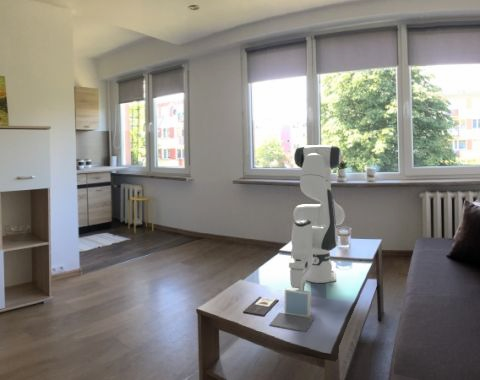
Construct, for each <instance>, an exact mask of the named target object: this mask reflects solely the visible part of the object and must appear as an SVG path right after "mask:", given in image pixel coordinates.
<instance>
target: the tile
mask: <svg viewBox="0 0 480 380" xmlns="http://www.w3.org/2000/svg"><path fill="white" fill-rule="evenodd" d="M311 292H312V291H309V290H305V289H304V290H298V288H290V287H289V288H288V287H286V288H285V289H284V313H285V314H291V315H297V316H303V317H309V318H311V317H310V316H311V296H312V295H311Z"/></svg>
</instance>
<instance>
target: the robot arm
mask: <svg viewBox="0 0 480 380" xmlns="http://www.w3.org/2000/svg"><path fill="white" fill-rule="evenodd" d="M293 155H294V156H293V159H294V163H295V165H296V166H297V168H298V167H299V168H301V171H300V177H299V178H300V179H299V187H300V191H301V192H302V194H303V195H305V196H306V197H308V198H309V199H312V200H314V201H317V202H319V203H317V204H316V203H315V204H314V203H310V204H308V203H305V204H299V205H296V206H295V208H294V210H293V214H292V215H293V219H294V221H293V223H292V227H291V229H292V230H291V245H292V246H291V253H290V255H291V257H290V260H289V263H288V268H289V269H290V270H289V275H290V278H289V279H290V285H291V286H290V287H292V288H291V289H297V290H304V291H305V287H306V282H311V283H316V284H319V283H320V284H321V283H322V284H323V283H329V282H337V278H336V277H337V276H336V271H335V270H333V264H332V261H331V254H330V252H331V251H332V250H334V249H335V248H337V246H338V244H339V233H338V229H337V226H340V225H342V224H343V222H344V221H345V217H346V212H345V211H344V209H343V207H342V206H341V205H339V204H338V203H337V202H336V201H335V199H334V196H333V192H332V187H331V186H332V184H331V183H332V181H331V180H332V171H331V170H334V169H337V168H338V167H339V166H340V164H341V162H342V159H343V155H342V151H341V148H340V147H338V146H336V145H323V144H318V145H314V144H313V145H306V146H305V145H301V146H298V147H297V148H295V150H294V154H293Z"/></svg>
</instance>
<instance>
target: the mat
mask: <svg viewBox="0 0 480 380" xmlns="http://www.w3.org/2000/svg"><path fill="white" fill-rule="evenodd" d="M313 321H314V317H303V316H297V315H291V314H285V312H278V313H277V315H275V317H274V318H273V319H272V321H271V322H270V323H269V326H271V327H276V328H282V329H288V330H292V331H297V332H304V333H307V331H308V329H309V328H310V327H311V324H312V323H313Z"/></svg>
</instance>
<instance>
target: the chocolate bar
mask: <svg viewBox="0 0 480 380" xmlns="http://www.w3.org/2000/svg"><path fill="white" fill-rule="evenodd" d="M278 302H279V299H276V298H270V297H265V296H259V297H258V298H256V299H255V300H253V302H251V304H250V305H248V306H247V308H246V309H244V310H243V312H242V313H243V314H248V315H249V314H250V315H253V316H260V317H266V315H267V314H268V313H269V312H270V311H271V309H273V307H275V305H277V303H278Z"/></svg>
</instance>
